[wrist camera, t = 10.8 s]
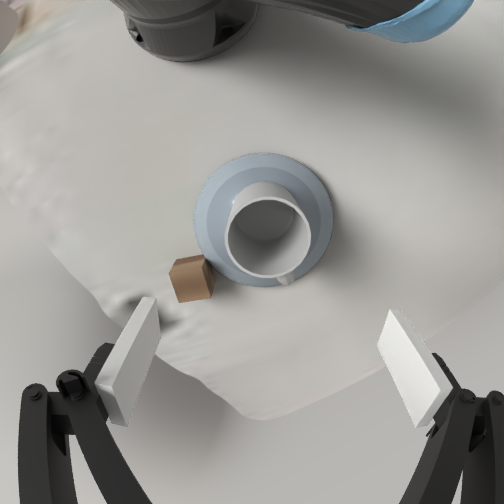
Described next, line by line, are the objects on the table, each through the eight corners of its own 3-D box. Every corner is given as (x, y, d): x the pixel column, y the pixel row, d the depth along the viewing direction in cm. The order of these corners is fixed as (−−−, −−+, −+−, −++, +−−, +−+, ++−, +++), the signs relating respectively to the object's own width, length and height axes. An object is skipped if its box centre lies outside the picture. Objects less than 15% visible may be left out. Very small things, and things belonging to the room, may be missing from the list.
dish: (197, 149, 32) (195, 149, 31) (338, 160, 32) (341, 161, 31) (195, 278, 38) (193, 283, 36) (320, 285, 38) (322, 290, 37)
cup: (283, 170, 31) (293, 183, 23) (313, 250, 35) (330, 286, 26) (221, 195, 32) (210, 216, 24) (256, 271, 36) (256, 313, 28)
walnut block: (176, 259, 37) (168, 273, 33) (206, 253, 37) (201, 267, 33) (185, 286, 38) (178, 302, 35) (214, 281, 38) (210, 298, 34)
